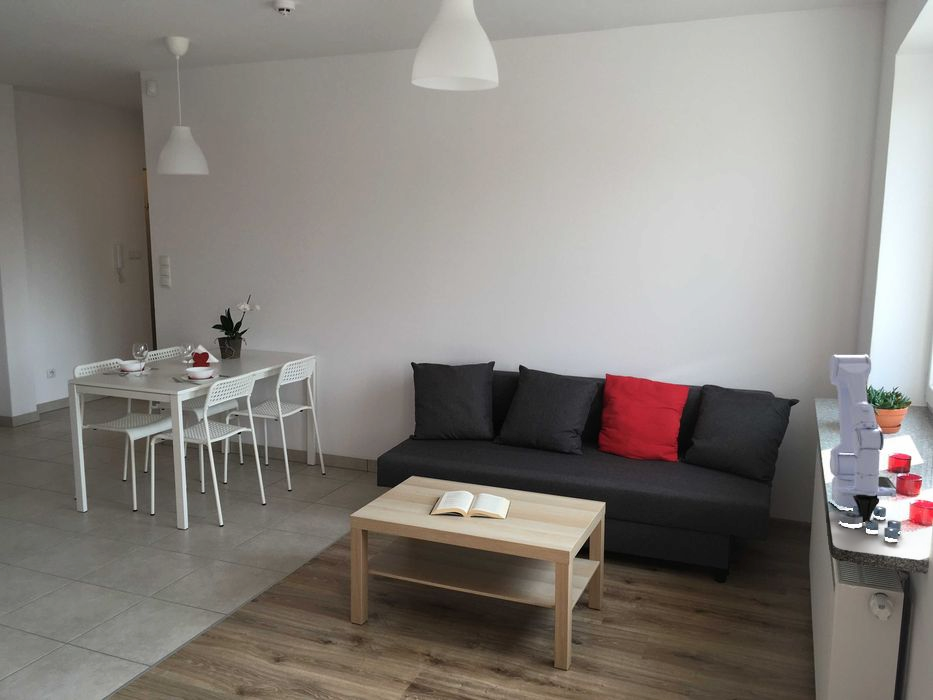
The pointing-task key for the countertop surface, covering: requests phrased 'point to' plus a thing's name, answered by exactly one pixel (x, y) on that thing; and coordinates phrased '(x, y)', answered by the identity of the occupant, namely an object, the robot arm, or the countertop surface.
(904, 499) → the countertop surface
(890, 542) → the countertop surface
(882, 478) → the phone
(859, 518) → the hex nut
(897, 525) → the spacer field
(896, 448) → the countertop surface
